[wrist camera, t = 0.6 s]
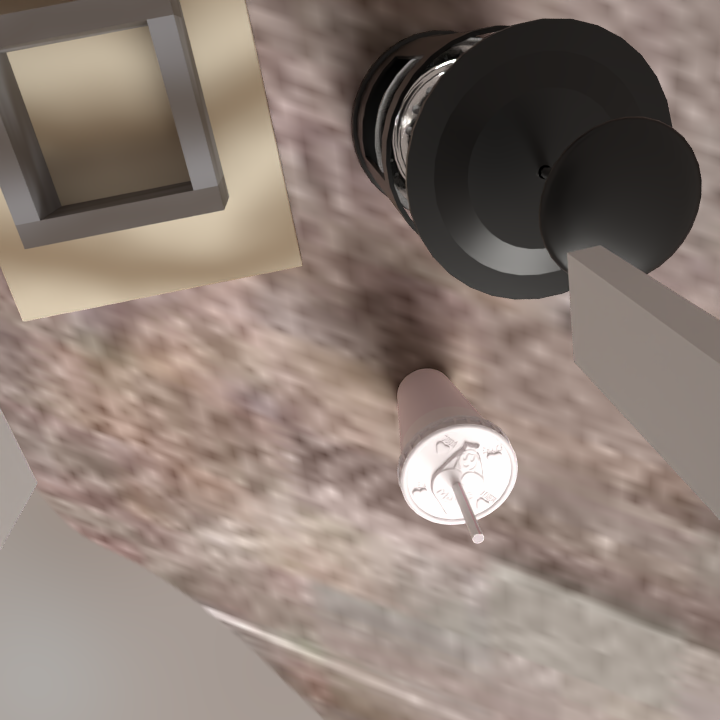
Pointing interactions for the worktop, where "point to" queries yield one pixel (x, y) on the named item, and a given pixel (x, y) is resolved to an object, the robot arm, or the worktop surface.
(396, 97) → the french press
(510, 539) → the worktop surface
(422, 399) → the smoothie
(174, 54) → the socket
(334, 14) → the worktop surface
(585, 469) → the worktop surface
